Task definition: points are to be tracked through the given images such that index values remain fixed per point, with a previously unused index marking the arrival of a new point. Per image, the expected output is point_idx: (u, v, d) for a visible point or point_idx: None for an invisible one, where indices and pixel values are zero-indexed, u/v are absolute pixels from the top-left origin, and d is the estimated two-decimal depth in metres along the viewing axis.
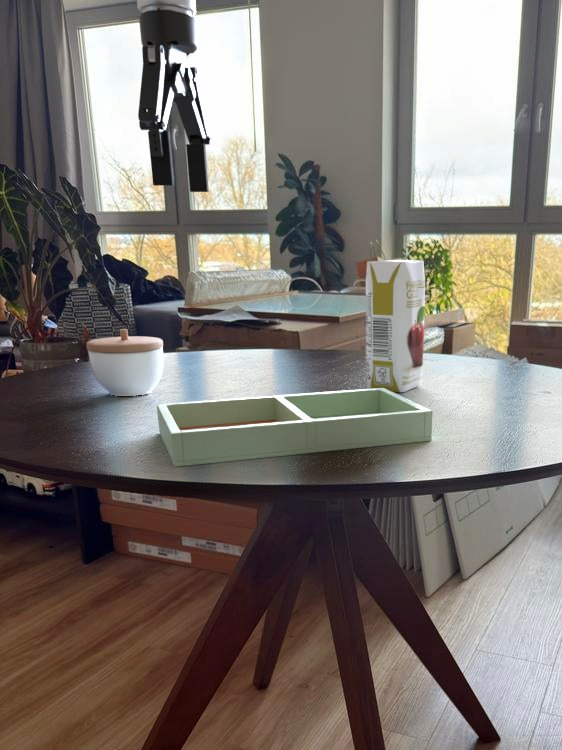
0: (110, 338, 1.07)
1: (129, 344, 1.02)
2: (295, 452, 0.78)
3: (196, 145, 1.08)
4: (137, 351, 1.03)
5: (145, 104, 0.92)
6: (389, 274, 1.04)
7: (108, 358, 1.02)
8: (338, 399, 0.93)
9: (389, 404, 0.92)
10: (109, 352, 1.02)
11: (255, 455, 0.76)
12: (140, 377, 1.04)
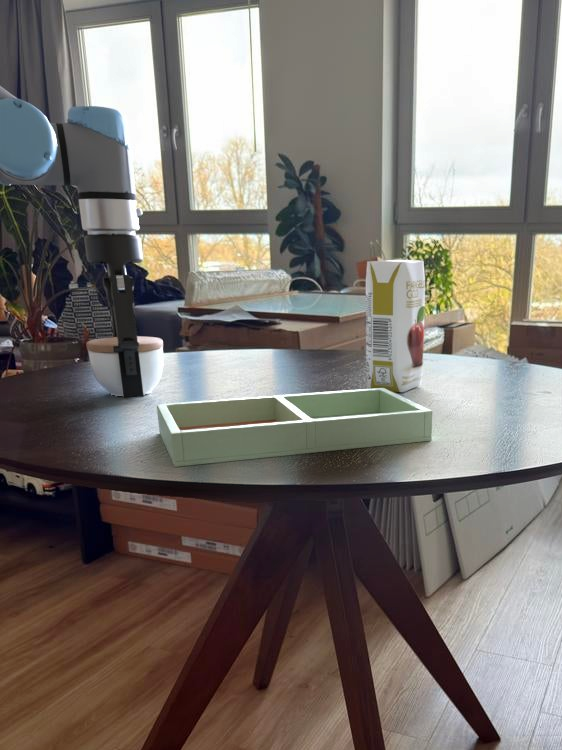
0: (110, 338, 1.08)
1: None
2: (295, 452, 0.78)
3: None
4: None
5: (124, 333, 0.98)
6: (389, 274, 1.04)
7: (108, 358, 1.02)
8: (338, 399, 0.93)
9: (389, 404, 0.92)
10: (109, 352, 1.02)
11: (255, 455, 0.76)
12: None
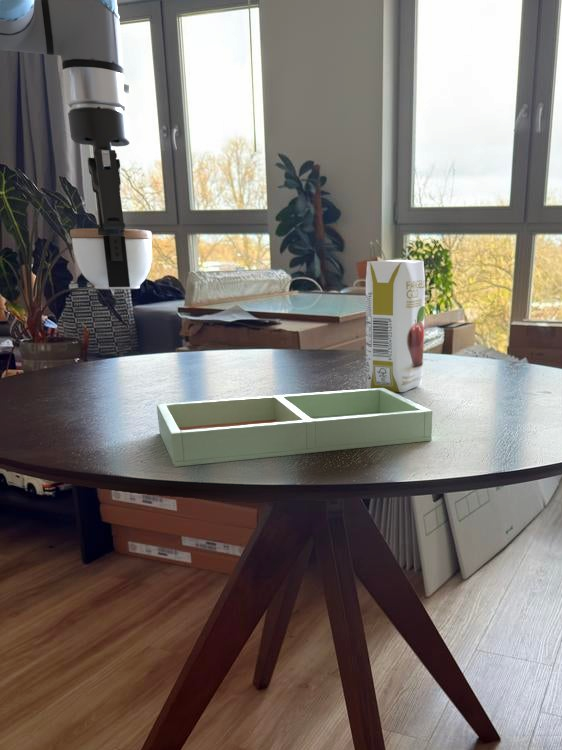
0: None
1: None
2: (295, 452, 0.78)
3: None
4: None
5: (109, 212, 0.92)
6: (389, 274, 1.04)
7: (92, 244, 0.96)
8: (338, 399, 0.93)
9: (389, 404, 0.92)
10: (94, 237, 0.96)
11: (255, 455, 0.76)
12: None
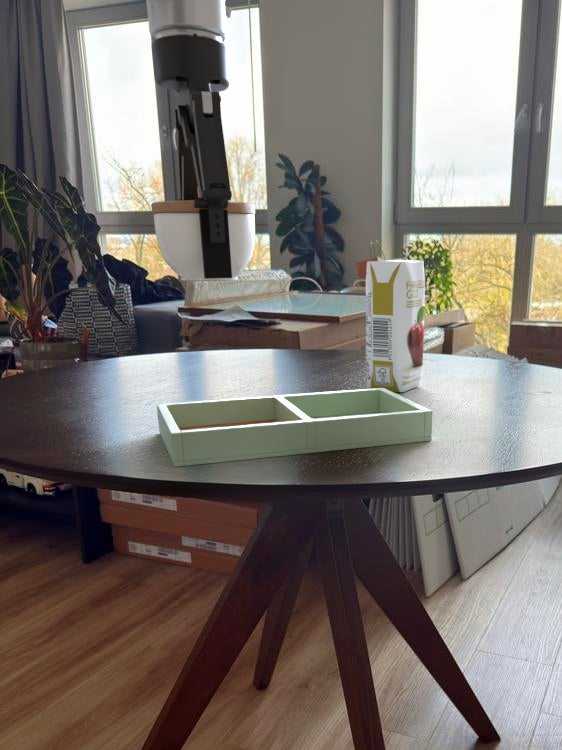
0: None
1: None
2: (295, 452, 0.78)
3: None
4: None
5: (212, 177, 0.68)
6: (389, 274, 1.04)
7: (184, 220, 0.72)
8: (338, 399, 0.93)
9: (389, 404, 0.92)
10: (187, 211, 0.72)
11: (255, 455, 0.76)
12: None
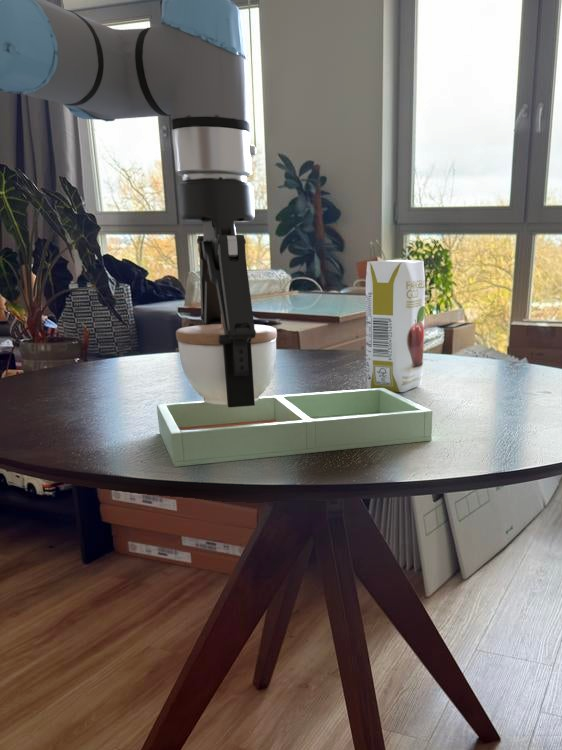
0: (205, 326, 0.79)
1: None
2: (295, 452, 0.78)
3: None
4: None
5: (237, 317, 0.70)
6: (389, 274, 1.04)
7: (209, 352, 0.74)
8: (338, 399, 0.93)
9: (389, 404, 0.92)
10: (211, 344, 0.74)
11: (255, 455, 0.76)
12: None
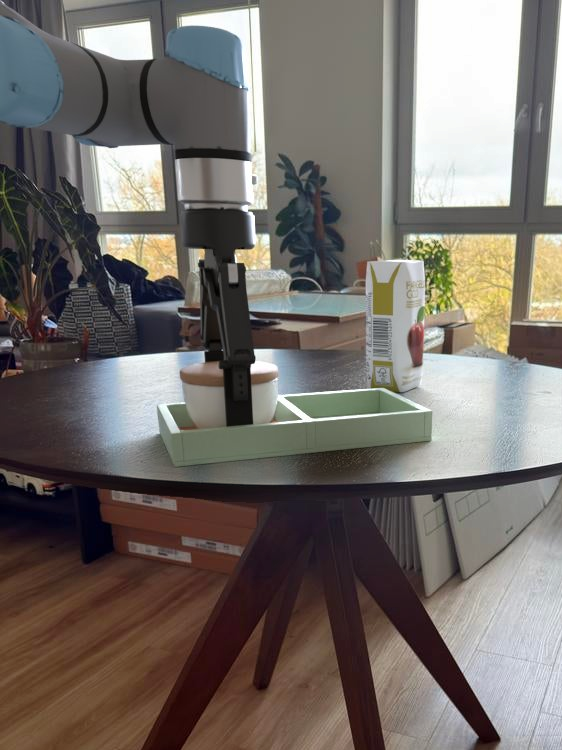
0: (208, 364, 0.81)
1: None
2: (295, 452, 0.78)
3: (218, 353, 0.84)
4: (251, 383, 0.76)
5: (237, 343, 0.70)
6: (389, 274, 1.04)
7: (212, 393, 0.76)
8: (338, 399, 0.93)
9: (389, 404, 0.92)
10: (214, 385, 0.75)
11: (255, 455, 0.76)
12: (253, 417, 0.78)
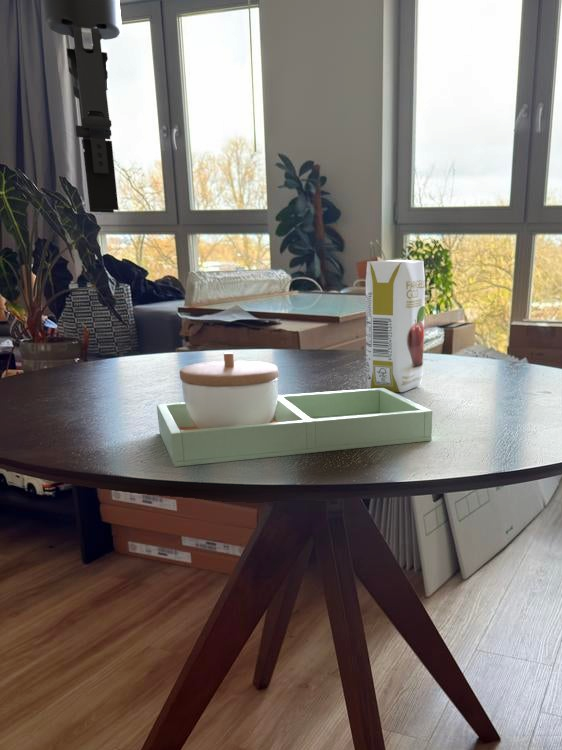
0: (208, 364, 0.81)
1: (241, 374, 0.76)
2: (295, 452, 0.78)
3: None
4: (251, 383, 0.76)
5: (90, 105, 0.70)
6: (389, 274, 1.04)
7: (212, 393, 0.76)
8: (338, 399, 0.93)
9: (389, 404, 0.92)
10: (214, 385, 0.75)
11: (255, 455, 0.76)
12: (253, 417, 0.78)
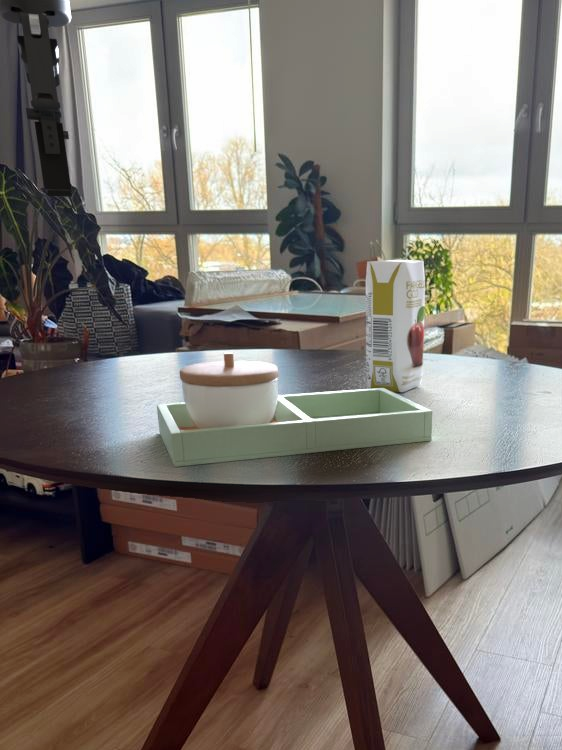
0: (208, 364, 0.81)
1: (241, 374, 0.76)
2: (295, 452, 0.78)
3: None
4: (251, 383, 0.76)
5: (39, 88, 0.73)
6: (389, 274, 1.04)
7: (212, 393, 0.76)
8: (338, 399, 0.93)
9: (389, 404, 0.92)
10: (214, 385, 0.75)
11: (255, 455, 0.76)
12: (253, 417, 0.78)
